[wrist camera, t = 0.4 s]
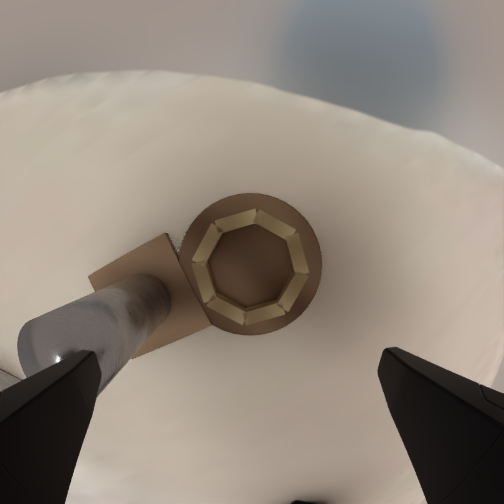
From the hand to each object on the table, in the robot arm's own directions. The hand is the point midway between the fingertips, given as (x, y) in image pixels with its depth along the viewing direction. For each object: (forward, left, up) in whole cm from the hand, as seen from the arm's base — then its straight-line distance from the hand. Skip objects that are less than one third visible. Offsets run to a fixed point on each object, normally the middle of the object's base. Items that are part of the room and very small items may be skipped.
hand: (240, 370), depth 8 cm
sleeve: (-5, +6, -14) cm, 17 cm away
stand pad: (-5, +6, -15) cm, 17 cm away
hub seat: (+1, 0, -15) cm, 15 cm away
